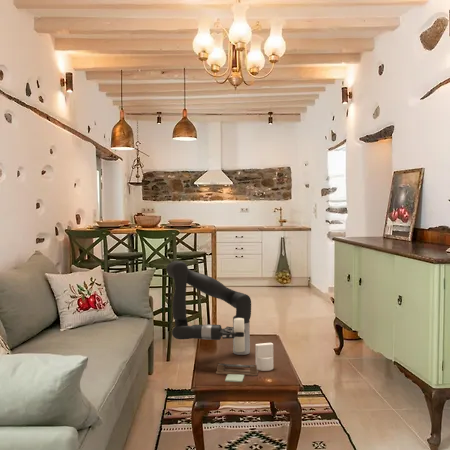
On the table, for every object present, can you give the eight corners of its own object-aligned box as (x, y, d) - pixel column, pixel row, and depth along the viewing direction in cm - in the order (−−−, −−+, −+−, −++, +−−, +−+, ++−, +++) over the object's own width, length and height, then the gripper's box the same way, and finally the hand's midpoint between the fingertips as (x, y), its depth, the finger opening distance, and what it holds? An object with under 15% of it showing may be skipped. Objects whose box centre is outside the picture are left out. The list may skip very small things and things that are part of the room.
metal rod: (218, 365, 226) (218, 363, 226) (254, 367, 224) (254, 365, 223) (218, 366, 225) (218, 364, 225) (254, 368, 222) (254, 365, 222)
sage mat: (227, 375, 222) (227, 373, 222) (244, 375, 220) (244, 374, 220) (225, 381, 214) (225, 379, 214) (242, 382, 212) (242, 380, 212)
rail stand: (217, 370, 229) (217, 362, 228) (258, 372, 225) (257, 364, 225) (216, 373, 224) (215, 365, 223) (257, 375, 220) (256, 367, 220)
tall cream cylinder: (235, 348, 235) (234, 317, 234) (245, 349, 234) (244, 317, 234) (233, 352, 230) (233, 320, 229) (244, 352, 229) (243, 320, 228)
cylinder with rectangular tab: (259, 371, 226) (258, 347, 226) (253, 365, 235) (252, 342, 234) (276, 369, 228) (276, 345, 228) (269, 364, 237) (269, 340, 237)
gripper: (208, 328, 227) (242, 329, 224) (213, 321, 241) (246, 322, 238) (208, 343, 227) (242, 344, 224) (214, 335, 241) (246, 336, 239)
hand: (244, 332), depth 231 cm, fingers closed on tall cream cylinder, 5 cm apart
